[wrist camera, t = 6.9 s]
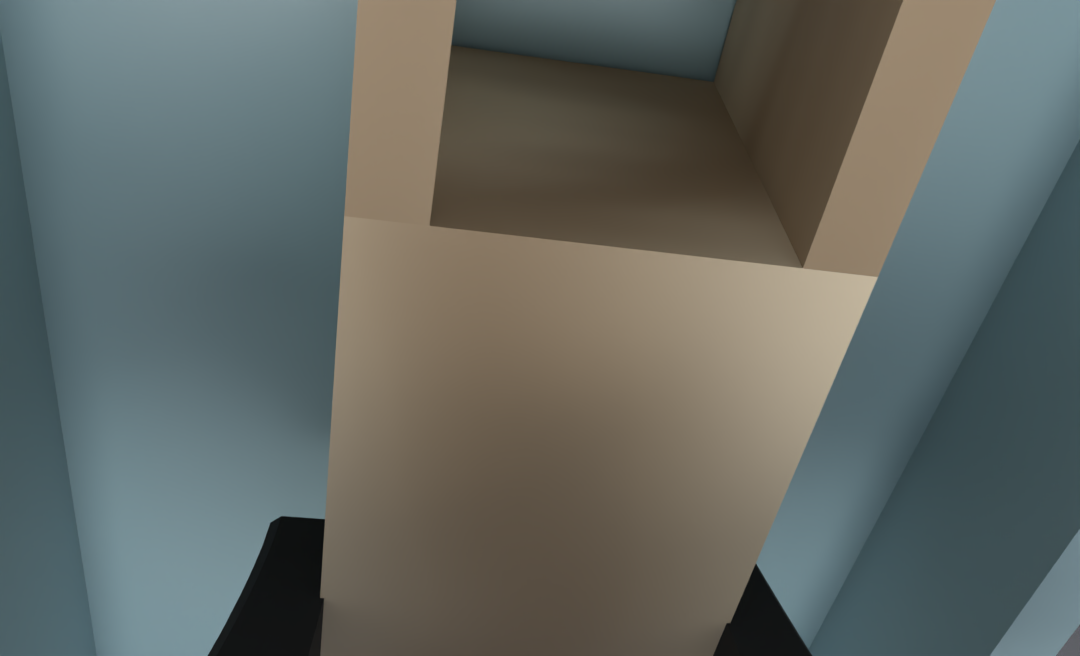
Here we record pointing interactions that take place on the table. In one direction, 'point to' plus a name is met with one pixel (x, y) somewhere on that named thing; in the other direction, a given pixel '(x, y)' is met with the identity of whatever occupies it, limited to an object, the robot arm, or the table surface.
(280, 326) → the bin
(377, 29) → the strut
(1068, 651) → the stud plate
